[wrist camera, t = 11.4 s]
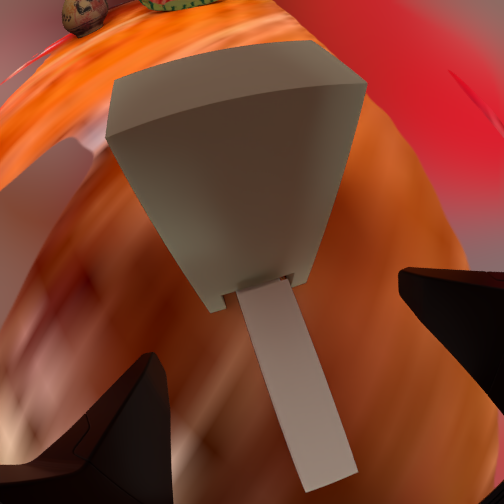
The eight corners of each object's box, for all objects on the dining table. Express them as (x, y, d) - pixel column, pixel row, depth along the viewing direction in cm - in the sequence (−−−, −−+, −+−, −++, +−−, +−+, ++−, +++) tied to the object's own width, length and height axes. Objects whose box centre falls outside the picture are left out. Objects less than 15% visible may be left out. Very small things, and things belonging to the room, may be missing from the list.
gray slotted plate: (288, 241, 18) (311, 40, 7) (306, 282, 17) (367, 82, 5) (198, 268, 18) (114, 80, 6) (210, 313, 16) (105, 137, 5)
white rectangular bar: (336, 453, 12) (358, 471, 9) (296, 469, 12) (305, 492, 8) (242, 196, 20) (237, 156, 17) (209, 205, 20) (199, 166, 16)
